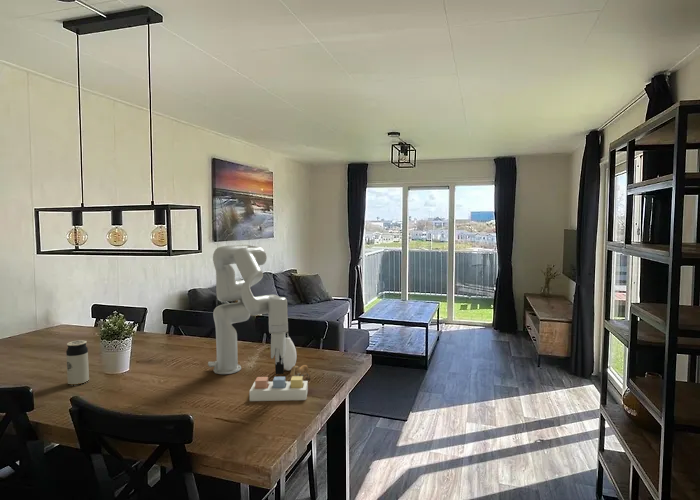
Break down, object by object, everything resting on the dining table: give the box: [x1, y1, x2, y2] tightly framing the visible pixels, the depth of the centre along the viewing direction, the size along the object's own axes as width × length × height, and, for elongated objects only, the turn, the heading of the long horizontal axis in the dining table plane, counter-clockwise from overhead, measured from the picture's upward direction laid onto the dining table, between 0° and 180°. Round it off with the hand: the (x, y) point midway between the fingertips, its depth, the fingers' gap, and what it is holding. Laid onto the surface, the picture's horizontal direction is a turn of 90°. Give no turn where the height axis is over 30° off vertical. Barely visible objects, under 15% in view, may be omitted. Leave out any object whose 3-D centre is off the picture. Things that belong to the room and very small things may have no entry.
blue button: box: [272, 376, 287, 388], centre depth 174 cm, size 4×4×4 cm
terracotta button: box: [254, 376, 269, 389], centre depth 174 cm, size 4×4×4 cm
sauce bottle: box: [283, 332, 298, 372], centre depth 205 cm, size 8×8×18 cm
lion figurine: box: [290, 364, 311, 380], centre depth 189 cm, size 15×5×9 cm, turn 163°
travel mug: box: [65, 339, 90, 385], centre depth 190 cm, size 8×8×18 cm
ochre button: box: [290, 376, 304, 388], centre depth 174 cm, size 4×4×4 cm
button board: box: [248, 380, 309, 402], centre depth 174 cm, size 22×10×4 cm, turn 92°
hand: (279, 373), depth 173 cm, fingers closed
